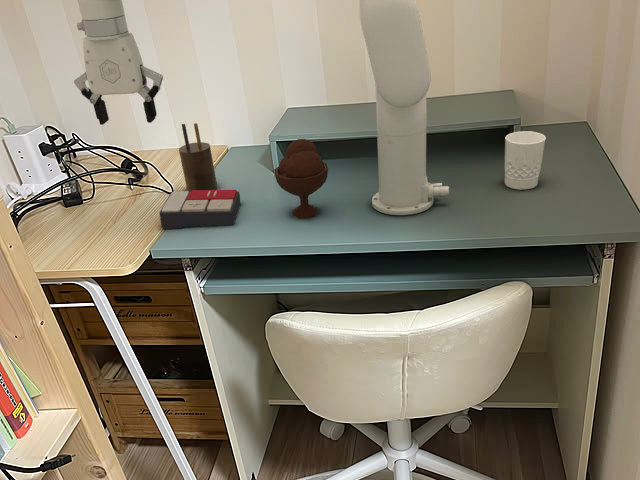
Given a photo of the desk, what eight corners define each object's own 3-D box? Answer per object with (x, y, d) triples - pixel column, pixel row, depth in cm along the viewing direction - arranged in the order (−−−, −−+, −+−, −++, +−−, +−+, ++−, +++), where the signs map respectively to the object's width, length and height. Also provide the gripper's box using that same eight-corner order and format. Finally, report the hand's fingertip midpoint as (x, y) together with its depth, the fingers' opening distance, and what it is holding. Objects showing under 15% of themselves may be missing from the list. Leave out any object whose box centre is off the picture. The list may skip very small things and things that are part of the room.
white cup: (526, 194, 132) (530, 146, 126) (494, 185, 137) (497, 139, 132) (548, 182, 136) (553, 135, 130) (516, 174, 141) (520, 128, 136)
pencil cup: (220, 183, 152) (209, 117, 143) (213, 194, 146) (200, 126, 137) (192, 184, 153) (178, 118, 144) (183, 196, 147) (169, 128, 138)
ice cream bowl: (271, 210, 136) (262, 140, 128) (320, 198, 139) (314, 129, 131) (289, 228, 128) (280, 155, 119) (340, 215, 131) (335, 143, 123)
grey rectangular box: (231, 208, 129) (158, 209, 130) (234, 228, 132) (161, 229, 132) (239, 187, 138) (170, 188, 139) (241, 206, 141) (173, 207, 141)
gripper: (52, 34, 115) (78, 129, 125) (145, 29, 113) (164, 125, 123) (69, 26, 121) (93, 117, 131) (158, 21, 119) (175, 114, 129)
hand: (128, 121), depth 127 cm, fingers open, 9 cm apart
